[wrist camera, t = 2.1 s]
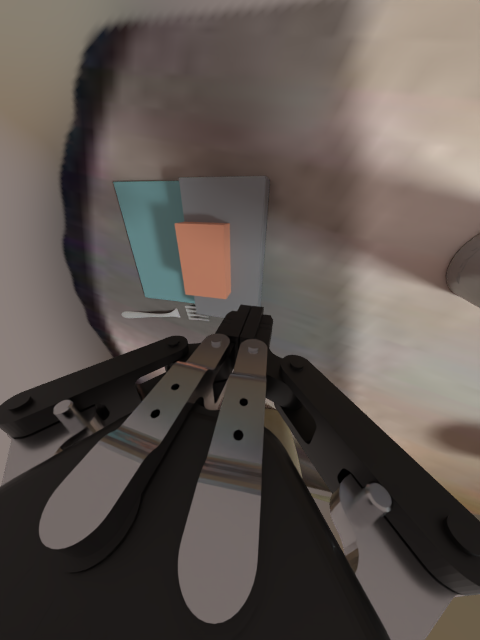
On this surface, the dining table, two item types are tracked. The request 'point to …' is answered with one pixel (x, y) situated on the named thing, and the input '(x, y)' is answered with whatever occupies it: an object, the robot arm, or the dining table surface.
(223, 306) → the panel
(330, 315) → the dining table surface
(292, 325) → the dining table surface
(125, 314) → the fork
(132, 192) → the mat
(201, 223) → the tile
